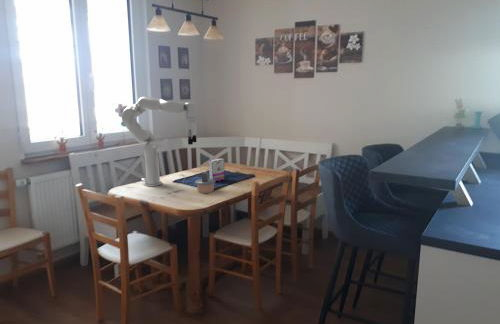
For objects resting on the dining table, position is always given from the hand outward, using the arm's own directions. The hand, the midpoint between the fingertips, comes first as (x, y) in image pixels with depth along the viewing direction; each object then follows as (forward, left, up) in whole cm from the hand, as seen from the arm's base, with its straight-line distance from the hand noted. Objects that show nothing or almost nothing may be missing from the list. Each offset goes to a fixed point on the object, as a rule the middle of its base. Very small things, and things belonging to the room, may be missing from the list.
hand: (192, 143), depth 286 cm
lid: (+13, -17, -24) cm, 32 cm away
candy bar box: (+15, +10, -31) cm, 35 cm away
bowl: (+13, -17, -30) cm, 37 cm away
